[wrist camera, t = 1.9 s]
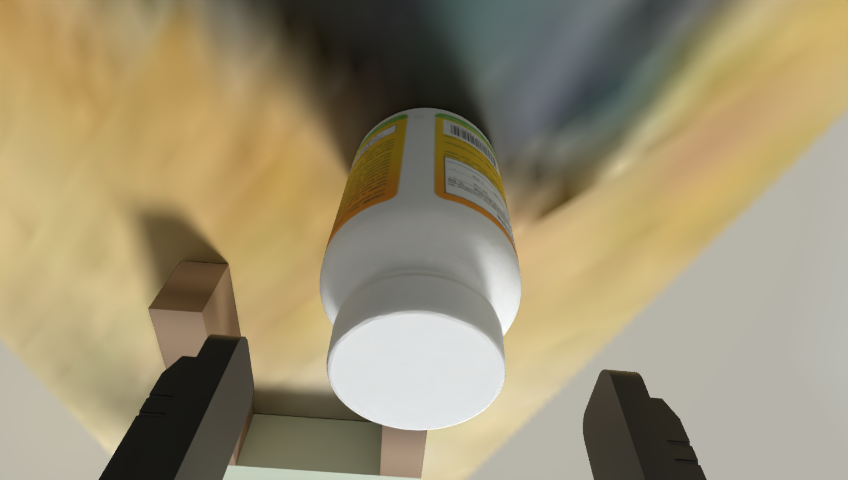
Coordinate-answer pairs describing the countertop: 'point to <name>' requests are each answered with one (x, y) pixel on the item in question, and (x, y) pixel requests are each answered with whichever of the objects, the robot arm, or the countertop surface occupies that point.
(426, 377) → the supplement bottle
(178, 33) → the countertop surface
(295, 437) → the slot holder
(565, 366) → the countertop surface
